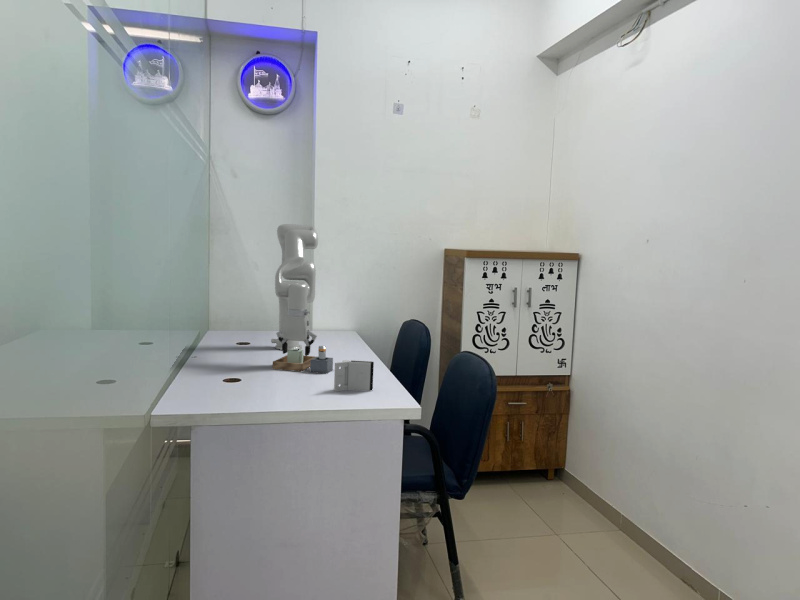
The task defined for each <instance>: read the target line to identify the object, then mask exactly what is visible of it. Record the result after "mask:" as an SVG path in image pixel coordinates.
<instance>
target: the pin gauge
mask: <svg viewBox="0 0 800 600" xmlns="http://www.w3.org/2000/svg"><path fill="white" fill-rule="evenodd" d="M326 351H327V347H326V345H319V346H318V356H317V357H318V360H325V357H327V356H326Z"/></svg>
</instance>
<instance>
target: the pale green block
mask: <svg viewBox="0 0 800 600" xmlns="http://www.w3.org/2000/svg"><path fill="white" fill-rule="evenodd" d="M286 354H287V362H288V363H299V364H302V363H303V356H304V349H299V350H298V349H291V350H287V353H286Z"/></svg>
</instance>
